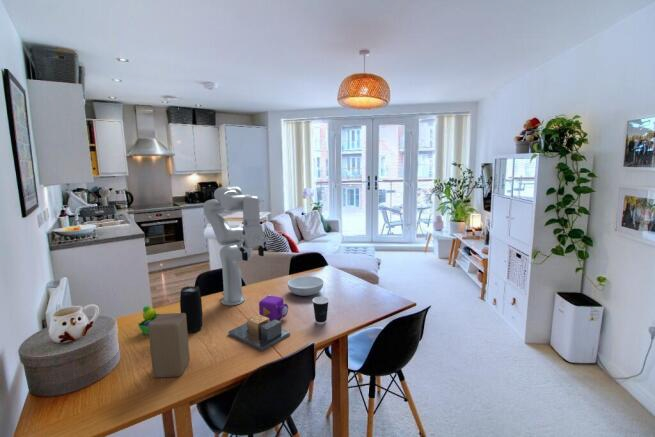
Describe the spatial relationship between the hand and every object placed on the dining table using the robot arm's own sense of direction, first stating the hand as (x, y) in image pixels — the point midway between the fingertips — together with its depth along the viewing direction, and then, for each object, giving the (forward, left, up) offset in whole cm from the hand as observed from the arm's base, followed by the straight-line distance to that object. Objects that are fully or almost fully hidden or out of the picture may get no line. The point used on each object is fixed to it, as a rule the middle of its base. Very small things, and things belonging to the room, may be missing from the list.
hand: (253, 258), depth 157 cm
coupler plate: (+14, -10, -30) cm, 35 cm away
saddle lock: (+14, -10, -29) cm, 34 cm away
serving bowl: (-2, +39, -31) cm, 50 cm away
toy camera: (+7, +6, -31) cm, 32 cm away
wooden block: (+8, -46, -31) cm, 56 cm away
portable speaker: (-14, -25, -31) cm, 42 cm away
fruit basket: (-28, -36, -31) cm, 55 cm away
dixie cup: (+28, +16, -31) cm, 44 cm away
